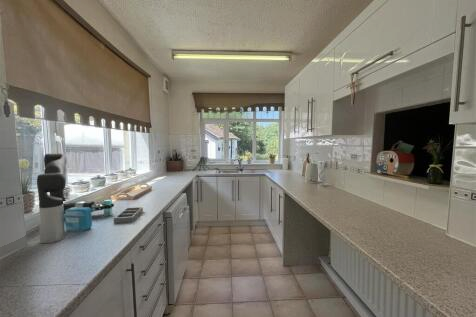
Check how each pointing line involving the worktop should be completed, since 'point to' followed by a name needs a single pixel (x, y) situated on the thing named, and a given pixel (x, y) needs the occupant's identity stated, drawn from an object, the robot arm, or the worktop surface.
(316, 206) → the worktop surface
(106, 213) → the brushed teal metal block
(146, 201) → the worktop surface
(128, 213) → the slot rack
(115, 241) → the worktop surface
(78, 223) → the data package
